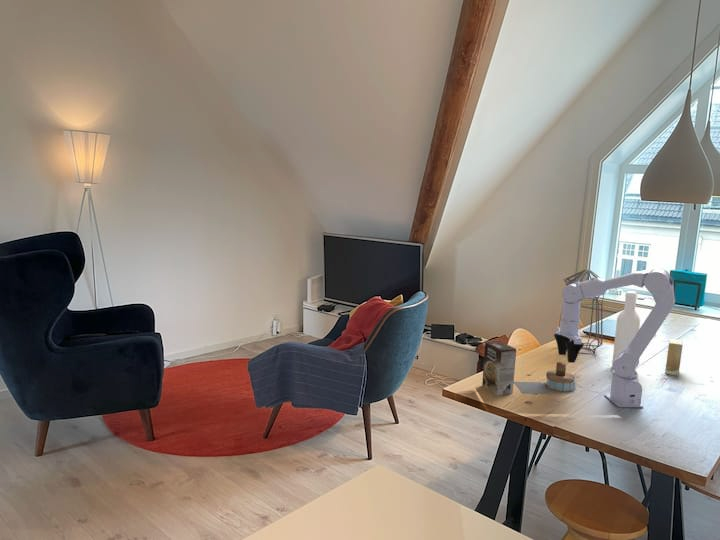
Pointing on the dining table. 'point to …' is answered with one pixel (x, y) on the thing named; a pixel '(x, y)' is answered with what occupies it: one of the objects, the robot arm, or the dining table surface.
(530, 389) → the plate
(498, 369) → the coffee box
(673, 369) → the skincare box
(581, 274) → the geometric lantern
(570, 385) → the bowl
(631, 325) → the bottle
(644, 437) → the dining table surface
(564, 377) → the lid
